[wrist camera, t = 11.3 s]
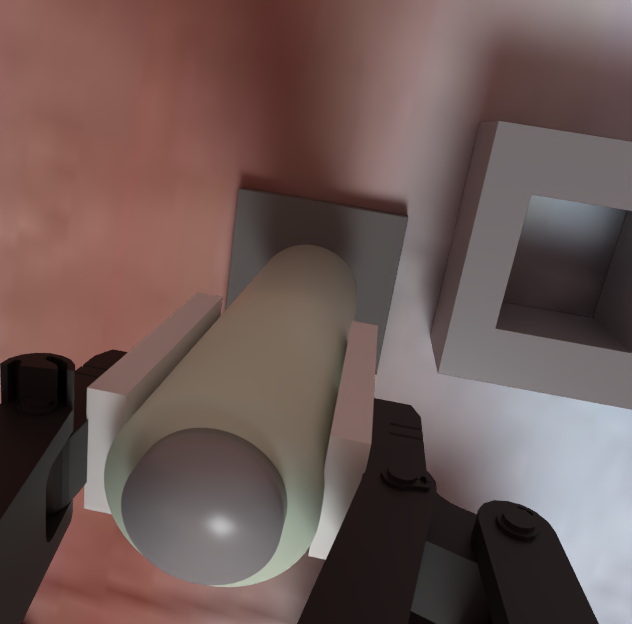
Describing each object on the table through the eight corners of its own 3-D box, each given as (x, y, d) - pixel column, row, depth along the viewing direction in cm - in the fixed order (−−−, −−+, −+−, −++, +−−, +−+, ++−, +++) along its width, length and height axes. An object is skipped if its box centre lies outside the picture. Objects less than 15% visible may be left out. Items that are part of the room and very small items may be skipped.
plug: (252, 333, 23) (86, 586, 11) (262, 236, 22) (89, 392, 9) (349, 350, 23) (300, 631, 10) (366, 253, 22) (333, 438, 9)
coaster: (225, 341, 26) (221, 345, 26) (242, 187, 24) (238, 188, 24) (376, 369, 26) (376, 374, 25) (407, 215, 24) (408, 217, 23)
